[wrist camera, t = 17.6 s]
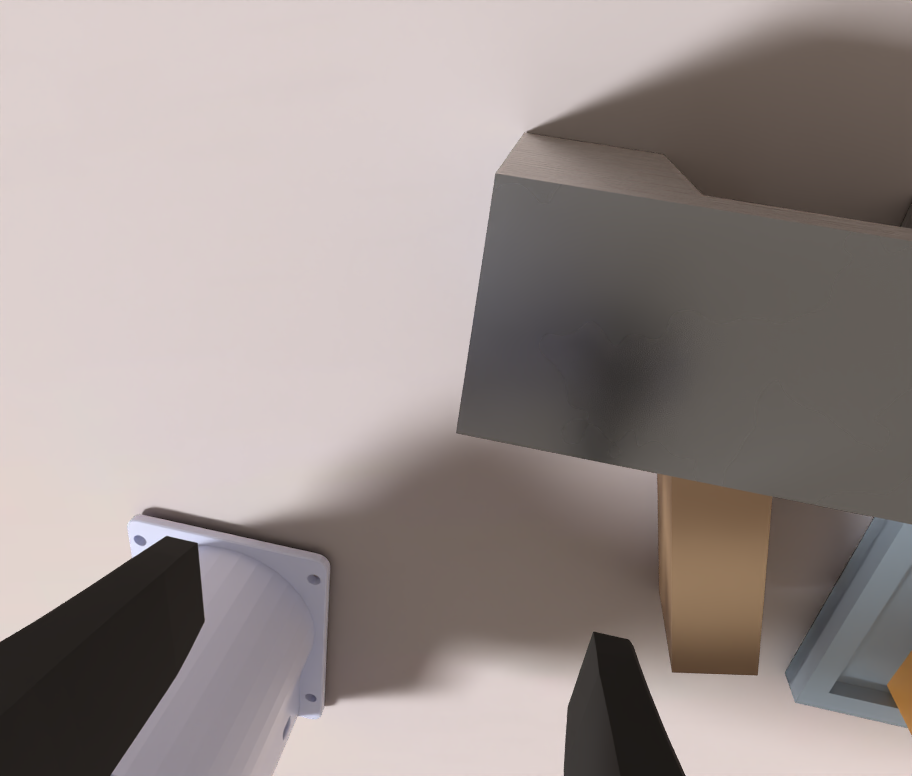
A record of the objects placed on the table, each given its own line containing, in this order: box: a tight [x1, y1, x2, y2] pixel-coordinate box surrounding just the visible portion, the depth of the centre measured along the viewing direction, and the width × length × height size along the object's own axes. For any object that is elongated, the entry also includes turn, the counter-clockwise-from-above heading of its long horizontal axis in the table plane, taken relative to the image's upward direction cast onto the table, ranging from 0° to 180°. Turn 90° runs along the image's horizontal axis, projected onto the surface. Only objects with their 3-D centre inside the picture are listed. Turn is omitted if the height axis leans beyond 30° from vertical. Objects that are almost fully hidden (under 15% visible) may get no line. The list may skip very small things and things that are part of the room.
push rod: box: [657, 474, 772, 675], centre depth 18 cm, size 13×2×4 cm, turn 9°
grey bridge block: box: [456, 133, 912, 524], centre depth 14 cm, size 5×13×7 cm, turn 82°
